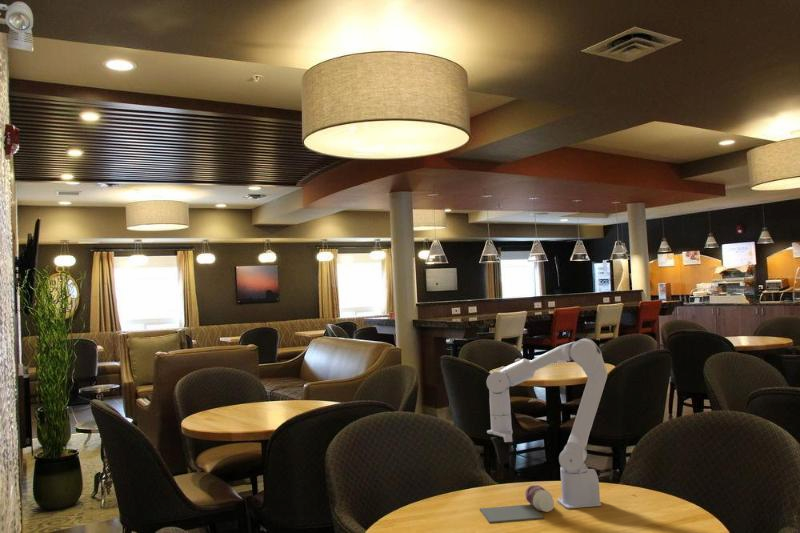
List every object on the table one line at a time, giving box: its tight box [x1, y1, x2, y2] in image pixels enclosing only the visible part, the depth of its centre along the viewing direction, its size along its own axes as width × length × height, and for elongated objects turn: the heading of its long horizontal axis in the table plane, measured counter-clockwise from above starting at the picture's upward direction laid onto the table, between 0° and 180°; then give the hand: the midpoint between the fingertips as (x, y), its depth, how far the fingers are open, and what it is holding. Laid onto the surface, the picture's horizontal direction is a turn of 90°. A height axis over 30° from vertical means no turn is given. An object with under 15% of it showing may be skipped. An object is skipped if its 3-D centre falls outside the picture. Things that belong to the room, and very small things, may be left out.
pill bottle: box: [524, 483, 555, 513], centre depth 176 cm, size 5×5×10 cm
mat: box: [479, 503, 545, 524], centre depth 172 cm, size 14×11×1 cm
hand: (503, 463), depth 186 cm, fingers closed
